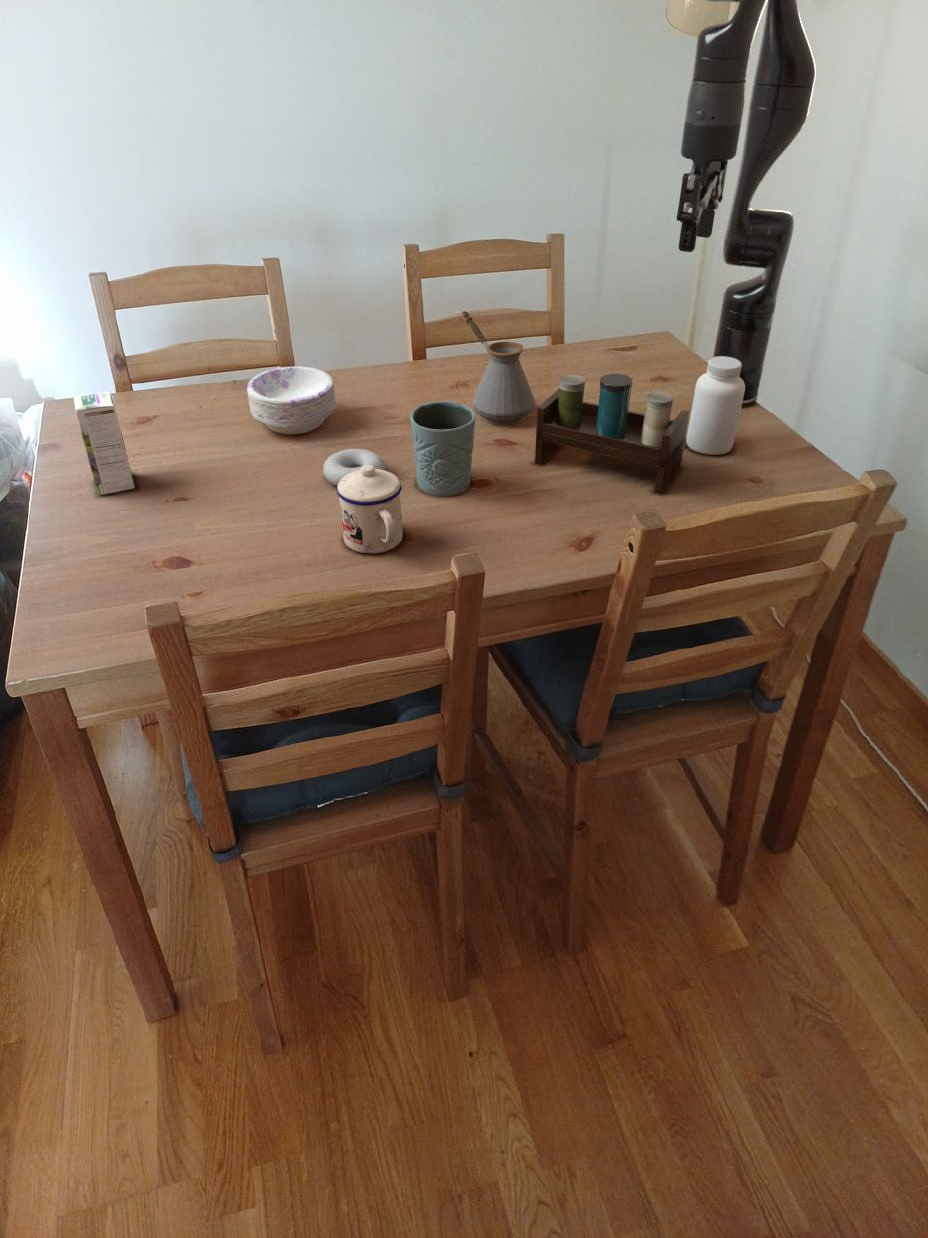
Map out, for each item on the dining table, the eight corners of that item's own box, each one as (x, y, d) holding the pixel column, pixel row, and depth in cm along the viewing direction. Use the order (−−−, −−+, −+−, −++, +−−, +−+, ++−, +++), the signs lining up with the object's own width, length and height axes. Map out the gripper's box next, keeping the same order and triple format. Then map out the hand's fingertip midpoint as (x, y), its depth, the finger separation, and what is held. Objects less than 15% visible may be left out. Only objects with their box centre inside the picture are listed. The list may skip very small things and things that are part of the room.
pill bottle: (734, 458, 148) (751, 372, 139) (685, 454, 150) (699, 369, 140) (732, 437, 154) (748, 354, 145) (685, 433, 156) (699, 350, 147)
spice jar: (601, 423, 145) (607, 371, 140) (630, 429, 144) (637, 376, 138) (590, 435, 142) (595, 382, 136) (620, 442, 140) (626, 388, 135)
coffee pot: (546, 421, 160) (550, 340, 151) (491, 434, 156) (492, 352, 147) (488, 380, 175) (489, 304, 166) (437, 392, 171) (435, 314, 162)
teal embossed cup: (445, 462, 148) (444, 395, 140) (488, 483, 142) (489, 414, 135) (400, 483, 142) (396, 414, 135) (443, 506, 136) (441, 435, 129)
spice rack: (558, 439, 154) (563, 364, 146) (680, 467, 146) (693, 389, 138) (534, 463, 147) (538, 386, 139) (661, 494, 139) (673, 413, 131)
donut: (370, 497, 139) (394, 467, 146) (368, 478, 137) (393, 449, 144) (313, 487, 141) (340, 459, 149) (311, 468, 139) (338, 440, 147)
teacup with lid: (332, 531, 131) (324, 461, 123) (389, 516, 134) (384, 447, 127) (364, 572, 122) (357, 499, 115) (423, 555, 126) (420, 482, 118)
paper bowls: (314, 447, 152) (309, 404, 148) (237, 435, 156) (230, 393, 151) (351, 411, 164) (347, 370, 159) (278, 401, 168) (272, 361, 163)
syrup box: (95, 480, 144) (70, 396, 135) (132, 473, 145) (110, 390, 137) (98, 496, 139) (73, 410, 131) (137, 489, 141) (114, 404, 132)
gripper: (726, 128, 113) (706, 259, 123) (754, 112, 123) (733, 234, 133) (670, 124, 116) (654, 252, 126) (701, 108, 126) (684, 229, 136)
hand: (695, 243), depth 129 cm, fingers open, 8 cm apart
